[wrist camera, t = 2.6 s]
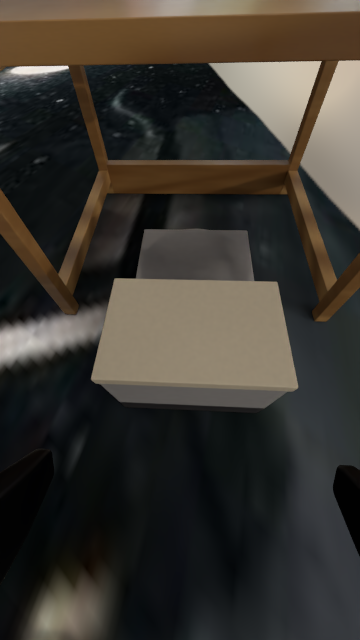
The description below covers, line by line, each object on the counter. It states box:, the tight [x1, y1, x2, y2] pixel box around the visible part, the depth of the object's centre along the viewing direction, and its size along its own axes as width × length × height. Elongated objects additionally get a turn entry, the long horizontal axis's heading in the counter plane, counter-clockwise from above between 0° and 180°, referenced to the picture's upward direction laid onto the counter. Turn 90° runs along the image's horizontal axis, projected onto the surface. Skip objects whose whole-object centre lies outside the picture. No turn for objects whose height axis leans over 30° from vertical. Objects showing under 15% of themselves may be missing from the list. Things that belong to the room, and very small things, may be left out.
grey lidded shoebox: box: [91, 229, 298, 413], centre depth 21 cm, size 11×16×8 cm
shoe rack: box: [0, 0, 360, 321], centre depth 22 cm, size 22×26×19 cm
